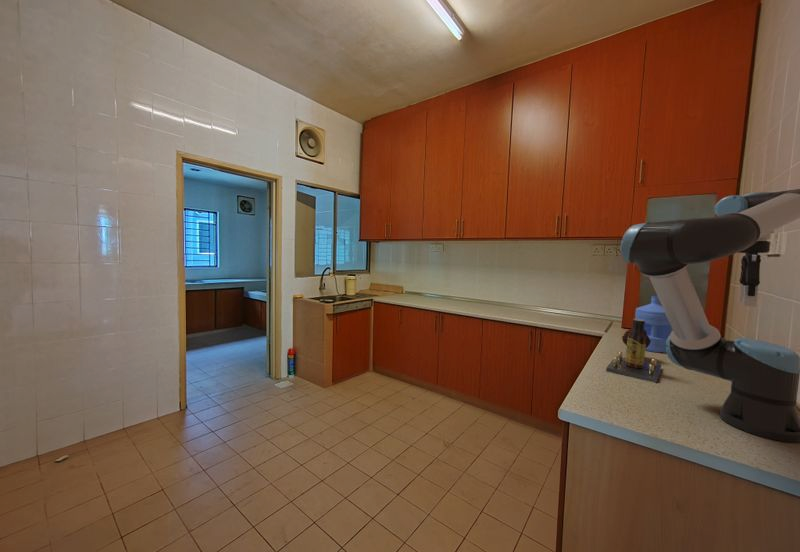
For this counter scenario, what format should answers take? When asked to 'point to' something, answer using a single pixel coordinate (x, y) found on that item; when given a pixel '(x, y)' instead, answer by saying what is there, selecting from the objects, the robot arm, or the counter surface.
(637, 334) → the sauce bottle
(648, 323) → the water jug
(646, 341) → the ice cream bowl
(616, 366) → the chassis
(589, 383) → the counter surface
